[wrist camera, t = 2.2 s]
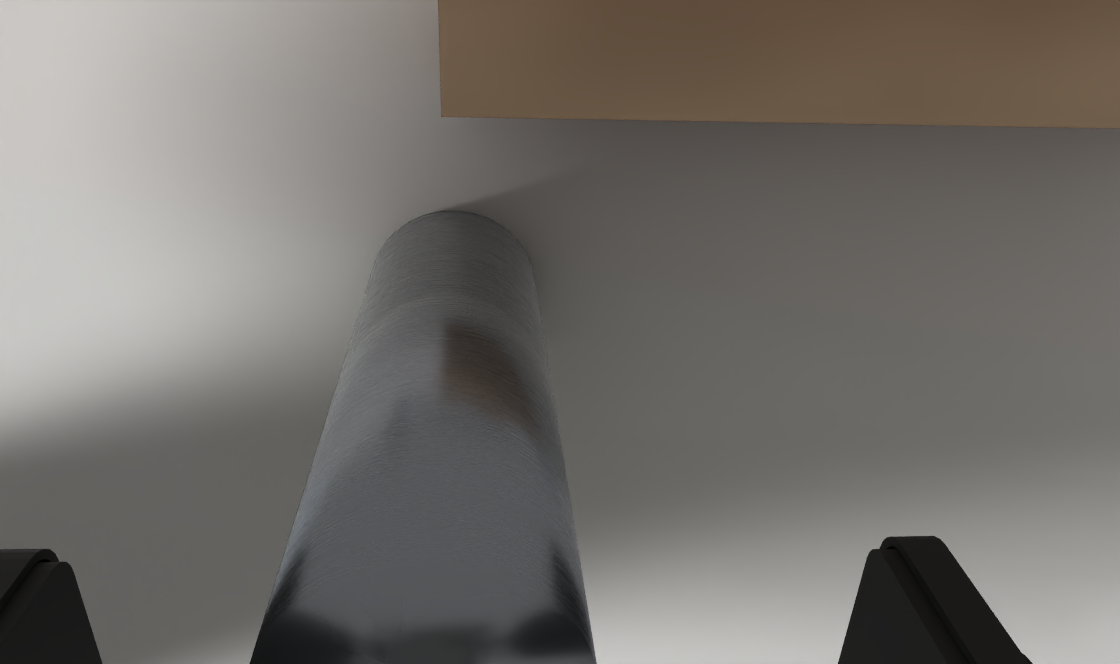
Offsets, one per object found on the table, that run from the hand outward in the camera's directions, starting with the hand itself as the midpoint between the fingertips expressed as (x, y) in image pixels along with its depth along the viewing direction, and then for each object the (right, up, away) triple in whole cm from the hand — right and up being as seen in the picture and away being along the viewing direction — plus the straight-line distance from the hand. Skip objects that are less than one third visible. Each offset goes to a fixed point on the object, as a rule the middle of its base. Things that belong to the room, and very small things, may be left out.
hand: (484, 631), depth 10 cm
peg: (-2, +5, +10) cm, 11 cm away
